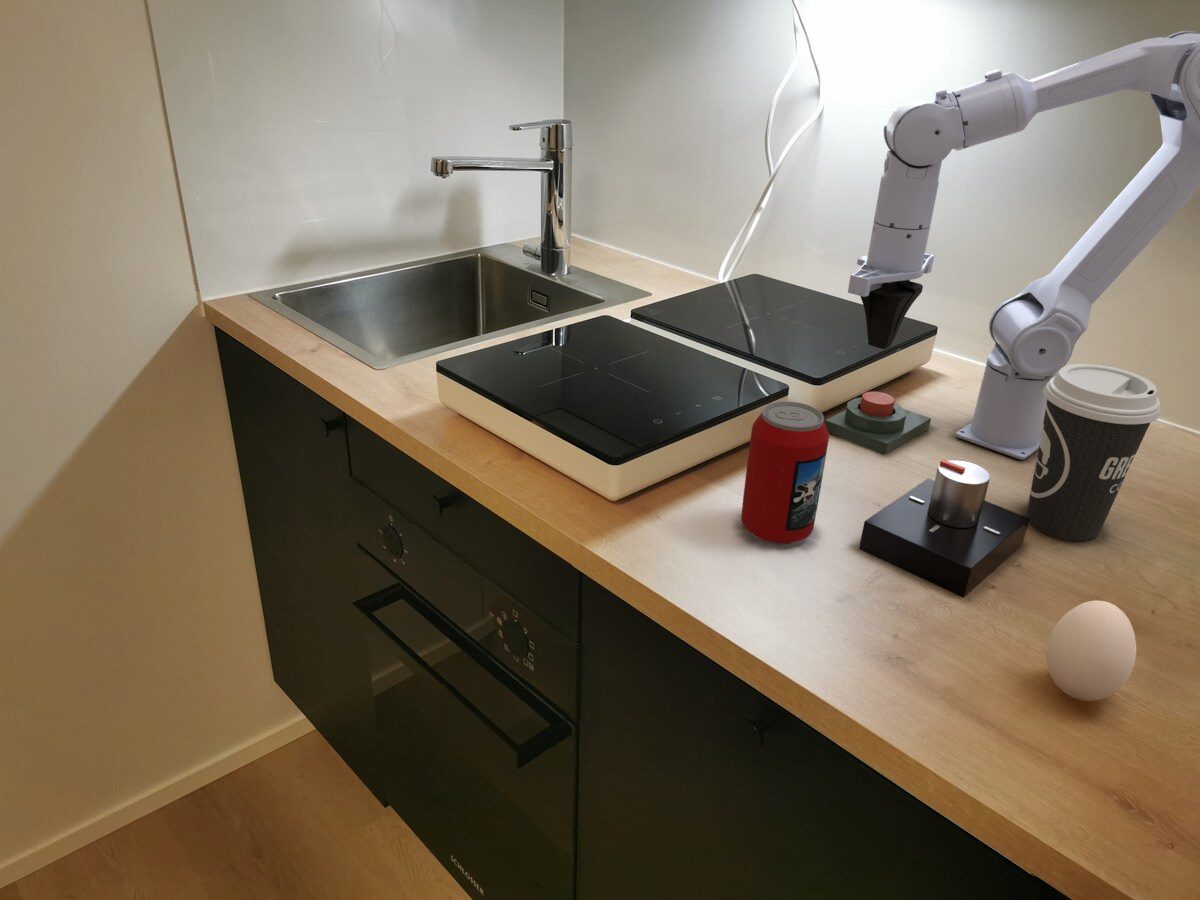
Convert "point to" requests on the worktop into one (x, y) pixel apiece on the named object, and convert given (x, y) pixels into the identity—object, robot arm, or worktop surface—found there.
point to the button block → (877, 427)
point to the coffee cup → (1087, 446)
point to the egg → (1091, 651)
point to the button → (877, 404)
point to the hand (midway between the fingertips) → (879, 345)
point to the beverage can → (784, 472)
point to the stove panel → (942, 541)
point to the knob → (958, 493)
